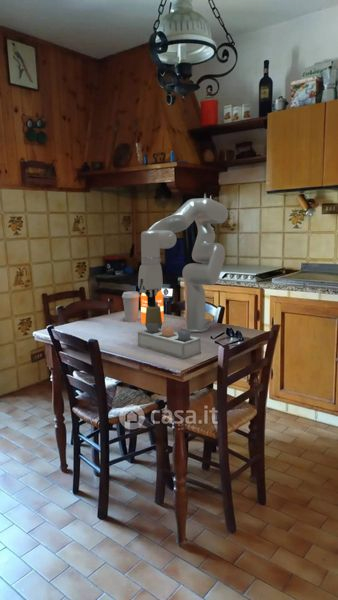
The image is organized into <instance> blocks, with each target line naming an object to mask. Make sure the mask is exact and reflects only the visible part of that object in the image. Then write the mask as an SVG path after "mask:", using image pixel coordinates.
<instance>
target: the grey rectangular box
mask: <svg viewBox="0 0 338 600" xmlns="http://www.w3.org/2000/svg"><path fill="white" fill-rule="evenodd" d="M137 339H138V340H137V342H138V344H137V346H138V347H140V348H144V349H147V350H151V351H154V352H158V353H160V354H163V355H168V356H171V357H174V358H178V359H180V360H181V359H182V360H186V359H187V358H190V357H194V356H196V355H198V354H201V353H202V352H201V349H202V348H201V342H202V341H201V338H200V337H196V336H192V335H190V341H187V342H182V341H178V332H175V331H174V336H173V337H170V338H166V337H162V328H161V329H159V332H158V333H155V334H151V333H147V329H145V330H141V331H138V332H137Z"/></svg>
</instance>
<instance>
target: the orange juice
mask: <svg viewBox="0 0 338 600" xmlns="http://www.w3.org/2000/svg"><path fill="white" fill-rule="evenodd" d="M155 300H156V301H157V302H158V306H159V307H160V310H161V318H162V323H164V322H165V321H164V319H165V318H164V316H165V315H164V293H163V292H162V290H161V291H159V292H158V293H157V296H155ZM147 307H148V305H147V296H146V294H145V293H141V294H140V313H141V314H140V316H141V317H140V318H141V324H143V325H145V321H146V308H147Z"/></svg>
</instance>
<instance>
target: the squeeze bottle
mask: <svg viewBox="0 0 338 600" xmlns="http://www.w3.org/2000/svg"><path fill="white" fill-rule="evenodd" d="M150 323H157V324H159V329H162V328H163V327H162V326H163V322H162V318H161V310H160V307H159V306H158V302H157V301H156V300H155V306H153V307H152V306H148V307H147V308H146V321H145V324H144V325H145V328H146V329H147V324H150Z"/></svg>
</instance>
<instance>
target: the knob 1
mask: <svg viewBox="0 0 338 600" xmlns="http://www.w3.org/2000/svg"><path fill="white" fill-rule="evenodd" d="M146 330H147V333H151V334H155V333H158V332H159V324H157V323H150V324H147V328H146Z"/></svg>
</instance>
